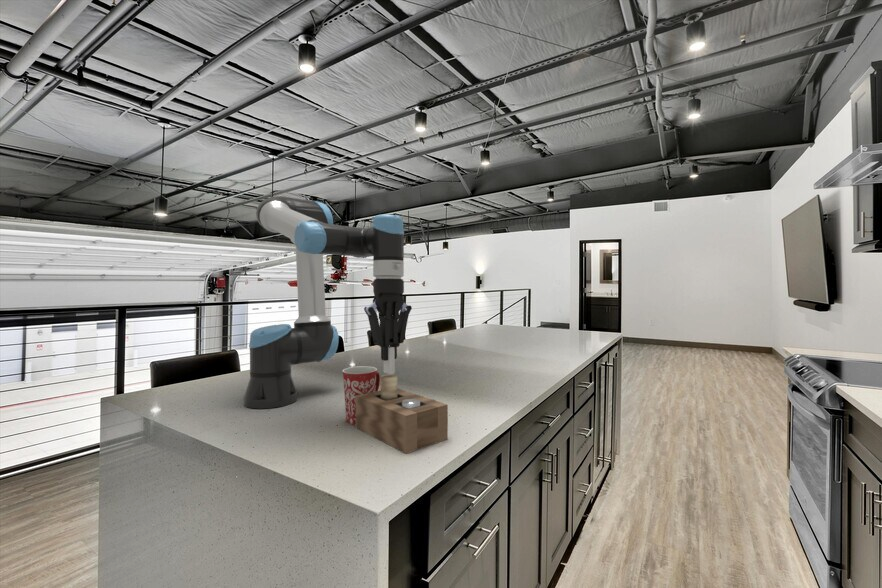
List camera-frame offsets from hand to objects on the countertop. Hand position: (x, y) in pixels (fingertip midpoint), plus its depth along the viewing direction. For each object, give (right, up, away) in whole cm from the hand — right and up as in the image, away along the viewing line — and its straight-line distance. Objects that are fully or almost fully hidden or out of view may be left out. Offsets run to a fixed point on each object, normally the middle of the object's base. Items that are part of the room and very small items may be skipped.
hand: (389, 372), depth 97 cm
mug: (-8, -14, +8) cm, 18 cm away
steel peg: (+6, -13, -6) cm, 16 cm away
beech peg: (0, -9, 0) cm, 9 cm away
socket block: (+3, -14, -3) cm, 14 cm away
